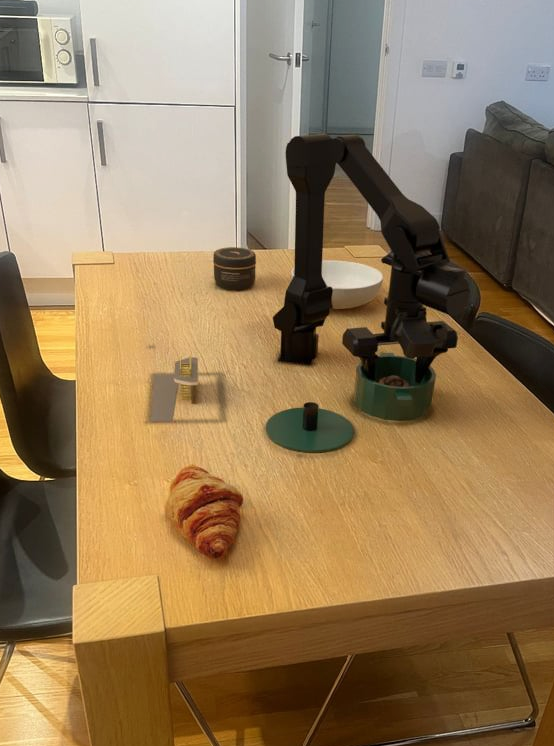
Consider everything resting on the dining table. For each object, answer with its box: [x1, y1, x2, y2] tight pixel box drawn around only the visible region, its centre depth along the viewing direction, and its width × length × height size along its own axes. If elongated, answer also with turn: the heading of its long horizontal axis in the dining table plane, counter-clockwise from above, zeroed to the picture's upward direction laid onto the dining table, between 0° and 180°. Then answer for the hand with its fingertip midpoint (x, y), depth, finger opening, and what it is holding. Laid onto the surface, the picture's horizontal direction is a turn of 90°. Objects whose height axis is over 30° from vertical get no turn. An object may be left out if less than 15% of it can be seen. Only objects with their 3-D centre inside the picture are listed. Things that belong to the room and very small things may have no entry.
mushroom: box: [379, 375, 409, 387], centre depth 131 cm, size 5×5×5 cm
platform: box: [149, 354, 199, 423], centre depth 130 cm, size 12×18×7 cm, turn 7°
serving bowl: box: [290, 259, 384, 310], centre depth 172 cm, size 21×21×7 cm
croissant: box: [164, 463, 244, 559], centre depth 100 cm, size 21×10×8 cm, turn 18°
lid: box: [265, 401, 355, 454], centre depth 121 cm, size 14×14×5 cm
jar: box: [212, 246, 257, 292], centre depth 179 cm, size 10×10×8 cm
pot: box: [353, 352, 437, 422], centre depth 131 cm, size 13×19×6 cm
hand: (394, 385), depth 130 cm, fingers open, 8 cm apart
